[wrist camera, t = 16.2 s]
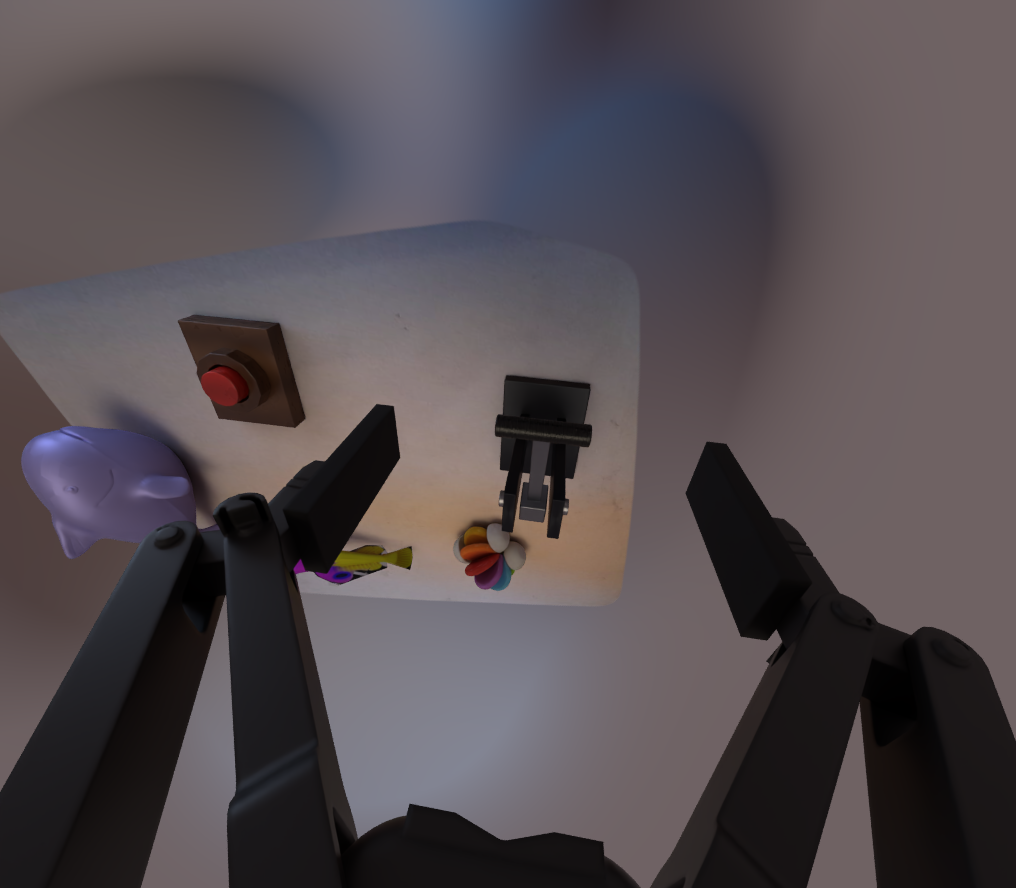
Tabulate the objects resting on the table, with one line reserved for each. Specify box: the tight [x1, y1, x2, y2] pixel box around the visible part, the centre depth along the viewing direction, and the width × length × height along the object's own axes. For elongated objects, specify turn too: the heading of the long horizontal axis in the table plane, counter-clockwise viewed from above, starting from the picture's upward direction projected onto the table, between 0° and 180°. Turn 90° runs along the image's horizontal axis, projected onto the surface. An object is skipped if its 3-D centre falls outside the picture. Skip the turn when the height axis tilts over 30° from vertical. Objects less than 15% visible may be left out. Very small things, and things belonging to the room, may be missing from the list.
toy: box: [294, 545, 413, 585], centre depth 56 cm, size 12×19×10 cm, turn 84°
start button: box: [201, 366, 249, 406], centre depth 42 cm, size 4×4×2 cm
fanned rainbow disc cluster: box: [453, 523, 526, 591], centre depth 53 cm, size 8×10×7 cm
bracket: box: [499, 376, 590, 539], centre depth 38 cm, size 12×9×15 cm
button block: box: [178, 315, 305, 428], centre depth 44 cm, size 12×10×4 cm
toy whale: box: [21, 426, 220, 559], centre depth 51 cm, size 14×25×16 cm, turn 12°
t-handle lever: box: [495, 414, 592, 522], centre depth 29 cm, size 13×6×2 cm, turn 177°
